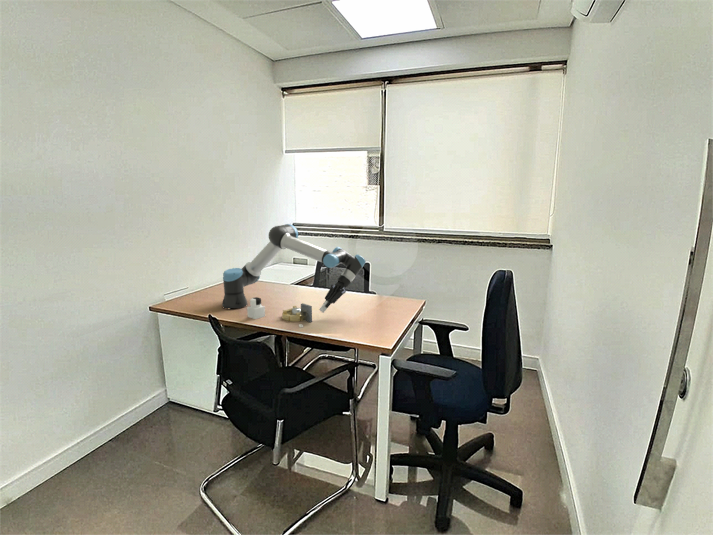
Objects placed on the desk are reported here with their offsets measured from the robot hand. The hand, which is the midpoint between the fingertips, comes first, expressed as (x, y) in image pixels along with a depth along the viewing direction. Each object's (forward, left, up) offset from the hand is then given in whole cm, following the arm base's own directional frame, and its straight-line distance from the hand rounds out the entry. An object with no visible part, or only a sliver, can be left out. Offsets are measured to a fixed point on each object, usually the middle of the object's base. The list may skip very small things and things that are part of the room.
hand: (321, 311), depth 209 cm
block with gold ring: (-13, -1, -4) cm, 13 cm away
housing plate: (-15, 0, -6) cm, 16 cm away
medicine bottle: (-38, -3, -6) cm, 38 cm away
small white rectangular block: (-8, -13, -6) cm, 16 cm away
